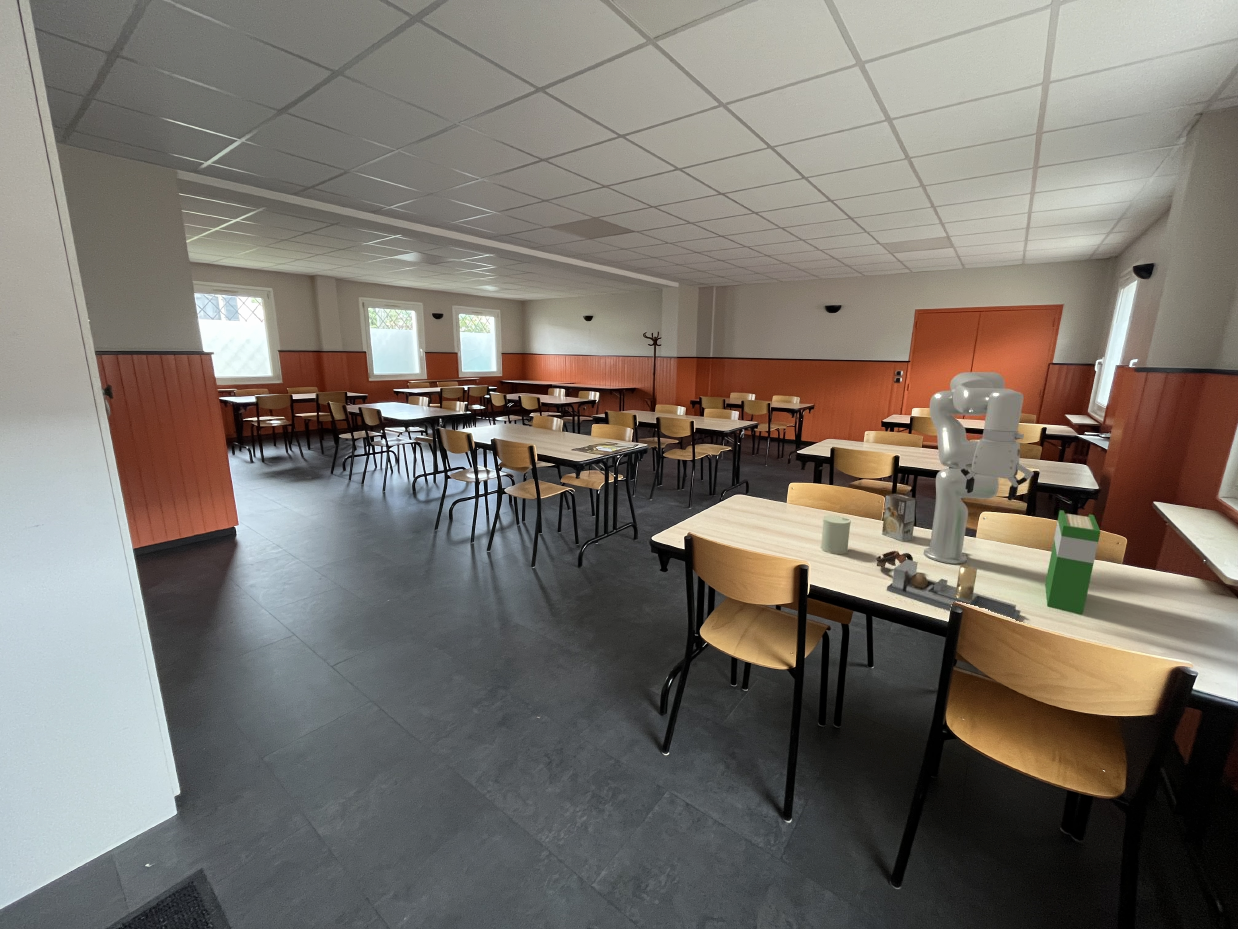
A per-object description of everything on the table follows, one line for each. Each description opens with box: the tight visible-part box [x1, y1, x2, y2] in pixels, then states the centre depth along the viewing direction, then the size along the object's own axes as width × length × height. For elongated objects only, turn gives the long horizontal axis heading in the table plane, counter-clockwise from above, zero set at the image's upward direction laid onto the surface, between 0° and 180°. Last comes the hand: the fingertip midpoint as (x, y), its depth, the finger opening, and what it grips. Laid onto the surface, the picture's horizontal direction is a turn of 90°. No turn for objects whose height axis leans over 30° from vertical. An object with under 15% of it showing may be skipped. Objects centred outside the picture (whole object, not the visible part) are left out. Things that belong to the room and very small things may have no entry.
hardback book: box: [1044, 509, 1102, 615], centre depth 145 cm, size 18×7×24 cm, turn 142°
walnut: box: [911, 573, 928, 589], centre depth 150 cm, size 4×4×4 cm
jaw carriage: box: [933, 564, 979, 605], centre depth 143 cm, size 7×9×10 cm
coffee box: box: [881, 493, 918, 542], centre depth 195 cm, size 9×6×16 cm
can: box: [820, 514, 852, 555], centre depth 183 cm, size 9×9×12 cm
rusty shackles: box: [875, 550, 914, 569], centre depth 165 cm, size 12×10×8 cm
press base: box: [886, 558, 1021, 621], centre depth 144 cm, size 12×30×7 cm, turn 41°
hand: (989, 495), depth 143 cm, fingers open, 9 cm apart
